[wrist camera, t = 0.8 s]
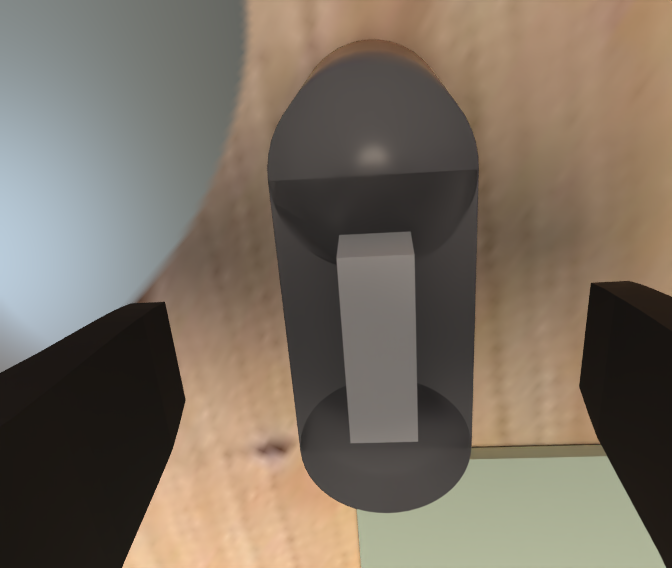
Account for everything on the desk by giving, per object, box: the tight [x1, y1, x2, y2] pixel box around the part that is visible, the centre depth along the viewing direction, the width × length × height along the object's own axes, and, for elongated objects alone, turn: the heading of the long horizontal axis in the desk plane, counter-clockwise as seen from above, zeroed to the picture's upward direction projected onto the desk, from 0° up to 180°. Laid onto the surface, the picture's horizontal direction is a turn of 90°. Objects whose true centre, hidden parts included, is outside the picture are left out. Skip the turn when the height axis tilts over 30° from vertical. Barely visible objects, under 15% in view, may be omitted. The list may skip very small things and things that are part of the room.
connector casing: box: [267, 40, 479, 513], centre depth 13 cm, size 3×9×6 cm, turn 4°
